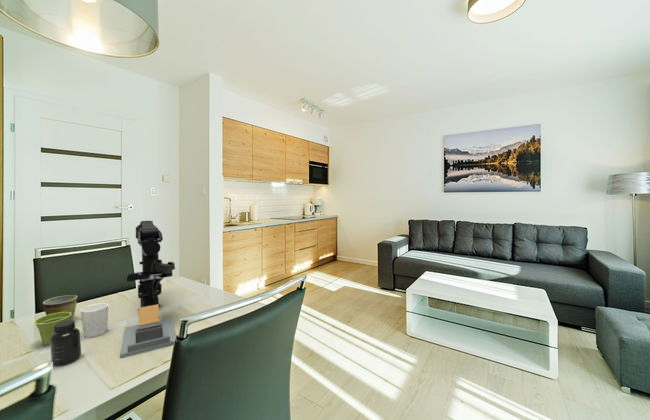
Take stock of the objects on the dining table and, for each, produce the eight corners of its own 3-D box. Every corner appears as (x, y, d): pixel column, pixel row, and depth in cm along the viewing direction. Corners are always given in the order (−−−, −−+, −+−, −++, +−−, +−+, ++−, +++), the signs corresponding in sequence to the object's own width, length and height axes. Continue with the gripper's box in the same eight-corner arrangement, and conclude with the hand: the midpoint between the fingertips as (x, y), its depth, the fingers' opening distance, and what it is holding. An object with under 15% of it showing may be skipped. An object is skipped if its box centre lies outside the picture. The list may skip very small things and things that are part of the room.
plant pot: (39, 351, 90) (38, 326, 90) (32, 343, 95) (30, 319, 95) (76, 339, 98) (75, 315, 98) (67, 331, 103) (66, 309, 103)
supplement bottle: (64, 354, 89) (62, 318, 88) (86, 353, 90) (85, 318, 89) (44, 367, 82) (42, 329, 82) (68, 366, 83) (67, 328, 82)
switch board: (125, 330, 105) (124, 317, 105) (172, 320, 113) (172, 308, 113) (120, 358, 87) (119, 342, 87) (176, 343, 96) (176, 329, 96)
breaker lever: (137, 330, 95) (137, 308, 97) (160, 325, 99) (160, 304, 101) (137, 330, 94) (136, 308, 96) (160, 325, 97) (160, 303, 100)
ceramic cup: (83, 320, 112) (82, 297, 112) (51, 331, 103) (49, 306, 103) (67, 314, 118) (66, 292, 117) (35, 324, 109) (34, 300, 108)
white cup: (113, 329, 105) (113, 304, 105) (90, 340, 98) (89, 313, 97) (100, 326, 108) (99, 301, 107) (76, 336, 100) (75, 309, 100)
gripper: (152, 254, 101) (154, 297, 98) (182, 255, 119) (185, 291, 116) (124, 259, 102) (125, 302, 99) (159, 259, 120) (160, 295, 117)
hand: (152, 297), depth 108 cm, fingers closed
